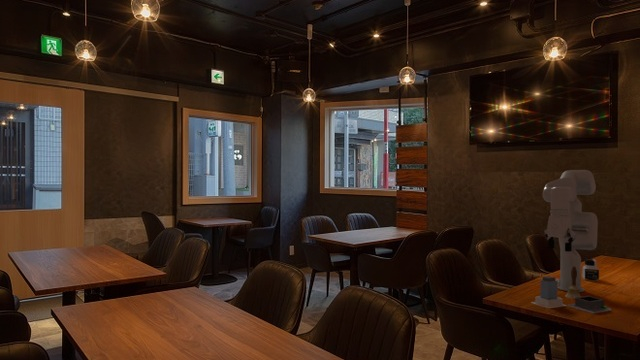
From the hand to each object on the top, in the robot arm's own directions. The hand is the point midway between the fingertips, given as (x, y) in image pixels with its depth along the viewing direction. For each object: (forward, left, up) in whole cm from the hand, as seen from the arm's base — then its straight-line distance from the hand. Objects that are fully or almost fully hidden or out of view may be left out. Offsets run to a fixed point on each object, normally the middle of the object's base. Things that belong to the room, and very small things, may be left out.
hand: (559, 249), depth 200 cm
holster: (-1, -5, -26) cm, 27 cm away
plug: (-1, -5, -25) cm, 26 cm away
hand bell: (-5, +17, -26) cm, 32 cm away
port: (+10, +6, -26) cm, 29 cm away
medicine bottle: (-30, +65, -26) cm, 76 cm away
